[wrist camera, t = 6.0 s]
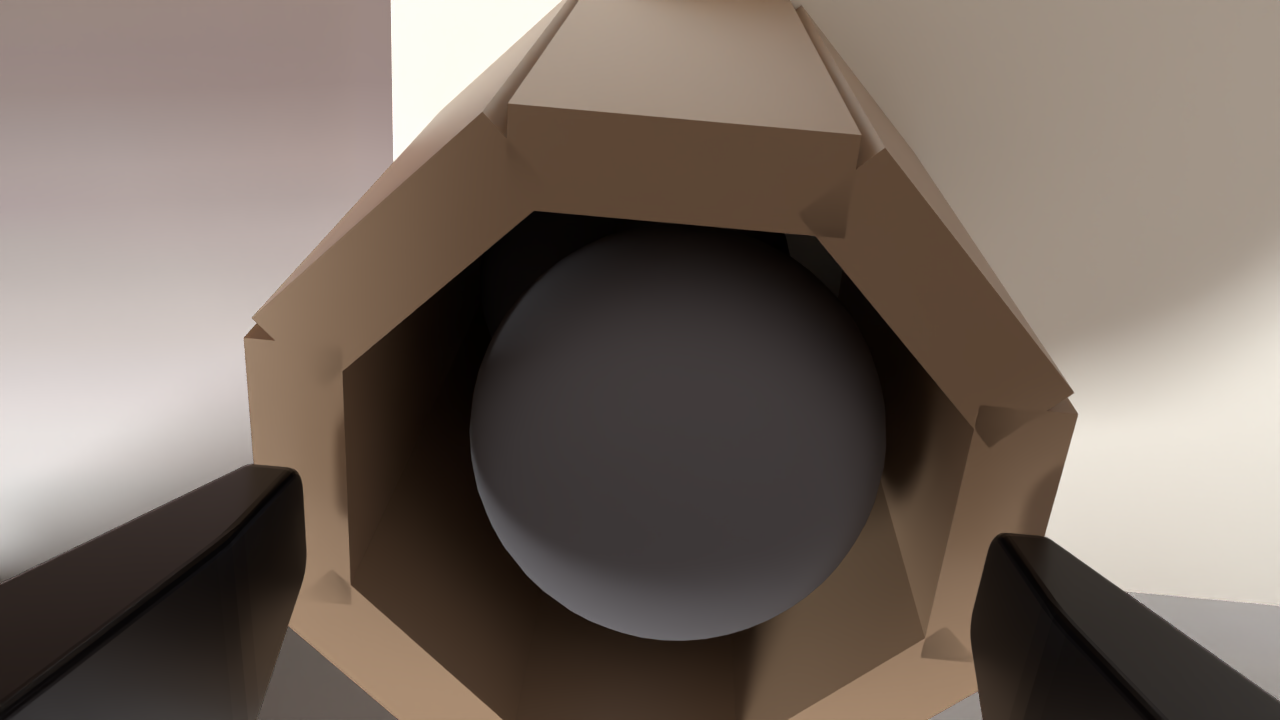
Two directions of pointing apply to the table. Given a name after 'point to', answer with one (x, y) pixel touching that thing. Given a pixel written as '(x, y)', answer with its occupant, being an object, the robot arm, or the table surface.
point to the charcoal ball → (678, 432)
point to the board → (863, 282)
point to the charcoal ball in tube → (553, 253)
